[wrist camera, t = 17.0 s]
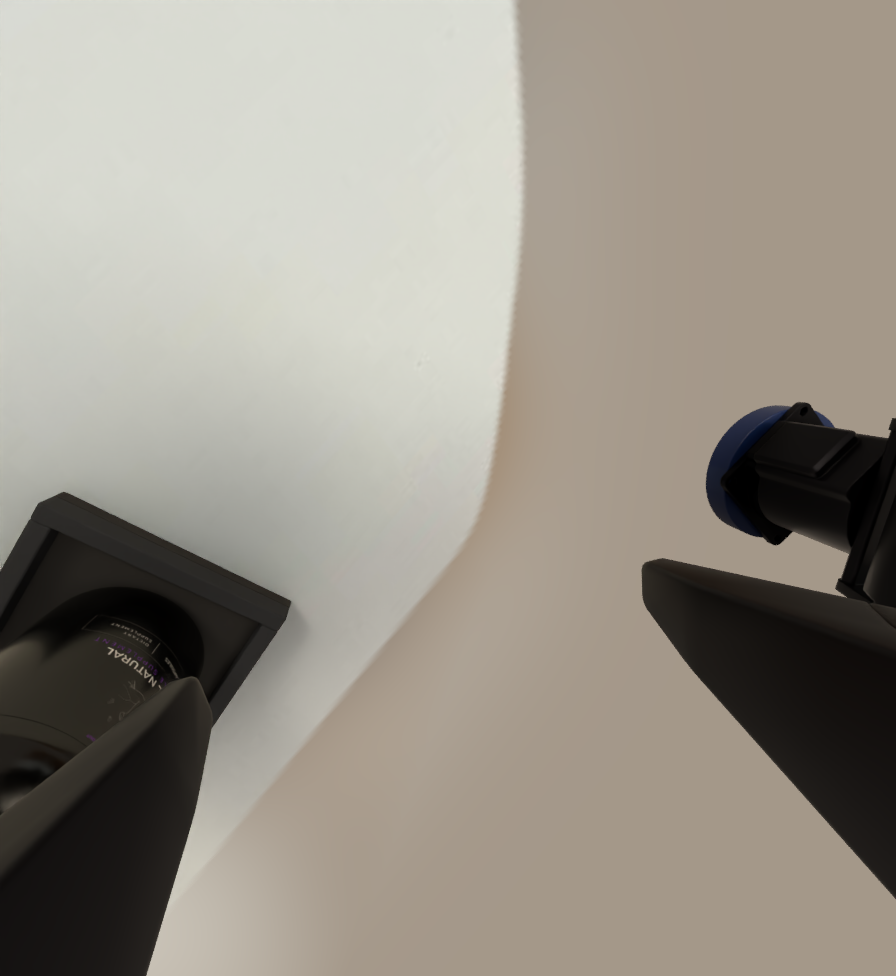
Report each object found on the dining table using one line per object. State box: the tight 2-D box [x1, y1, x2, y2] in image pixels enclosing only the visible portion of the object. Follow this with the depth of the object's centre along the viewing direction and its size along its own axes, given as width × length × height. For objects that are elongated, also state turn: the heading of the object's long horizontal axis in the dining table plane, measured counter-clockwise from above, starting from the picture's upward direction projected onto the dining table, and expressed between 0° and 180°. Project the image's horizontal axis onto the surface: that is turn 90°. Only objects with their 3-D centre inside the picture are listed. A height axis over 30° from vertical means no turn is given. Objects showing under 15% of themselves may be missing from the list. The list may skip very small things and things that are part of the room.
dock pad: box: [0, 492, 291, 727], centre depth 20 cm, size 11×11×2 cm
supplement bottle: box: [0, 587, 205, 815], centre depth 15 cm, size 7×7×12 cm
